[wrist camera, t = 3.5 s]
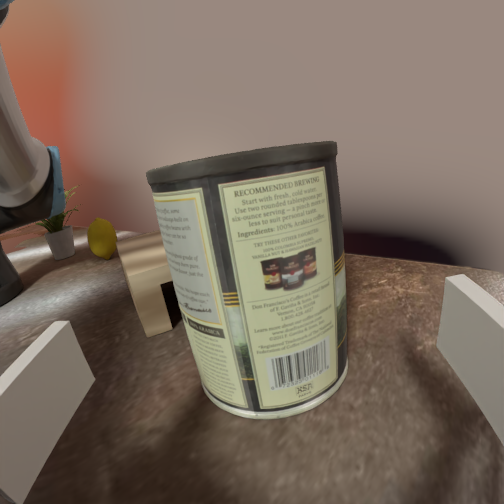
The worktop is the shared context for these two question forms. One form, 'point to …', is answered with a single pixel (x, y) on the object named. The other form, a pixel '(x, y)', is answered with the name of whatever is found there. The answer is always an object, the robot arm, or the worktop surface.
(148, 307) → the wooden block
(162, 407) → the worktop surface
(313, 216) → the coffee can
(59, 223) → the house plant
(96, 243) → the lemon
